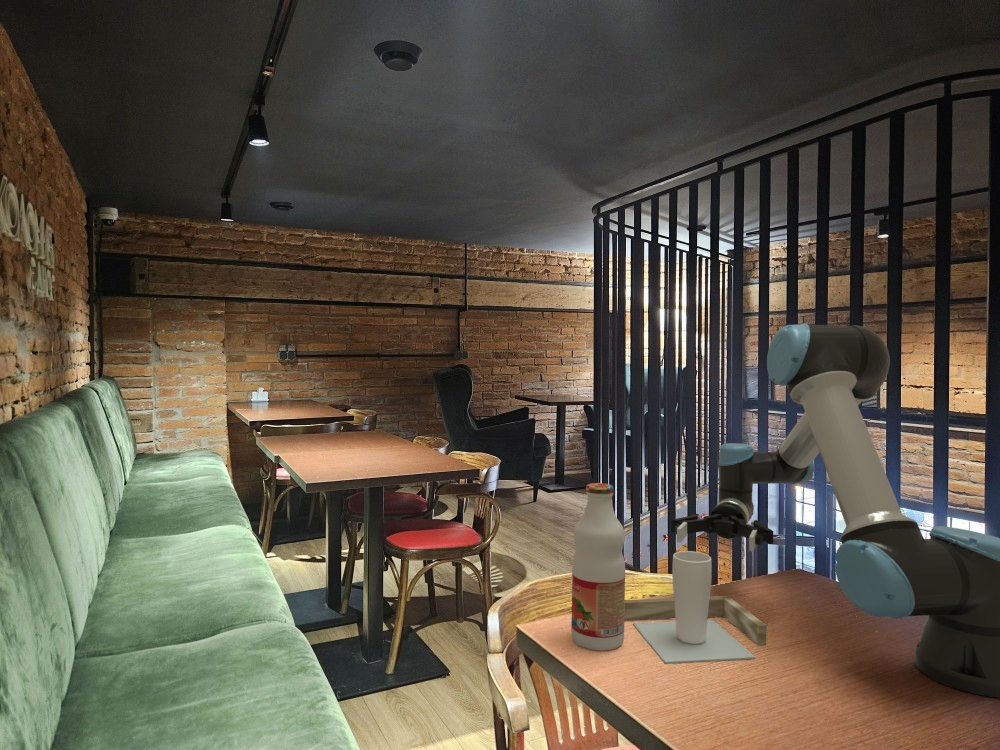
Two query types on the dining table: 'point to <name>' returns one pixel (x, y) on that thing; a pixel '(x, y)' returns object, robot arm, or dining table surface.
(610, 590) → the fruit juice
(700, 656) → the pad
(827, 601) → the dining table surface
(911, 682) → the dining table surface
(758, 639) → the birch walls
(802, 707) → the dining table surface
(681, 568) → the drinking glass
